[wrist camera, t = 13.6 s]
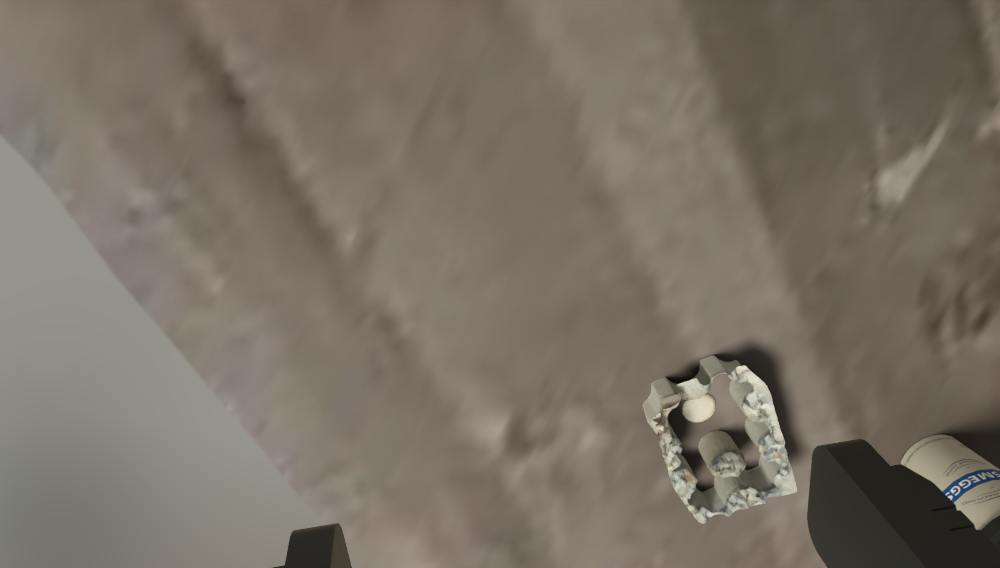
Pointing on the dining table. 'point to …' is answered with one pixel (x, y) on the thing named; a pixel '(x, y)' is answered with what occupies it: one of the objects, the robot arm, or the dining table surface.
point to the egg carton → (722, 441)
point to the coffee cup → (960, 480)
